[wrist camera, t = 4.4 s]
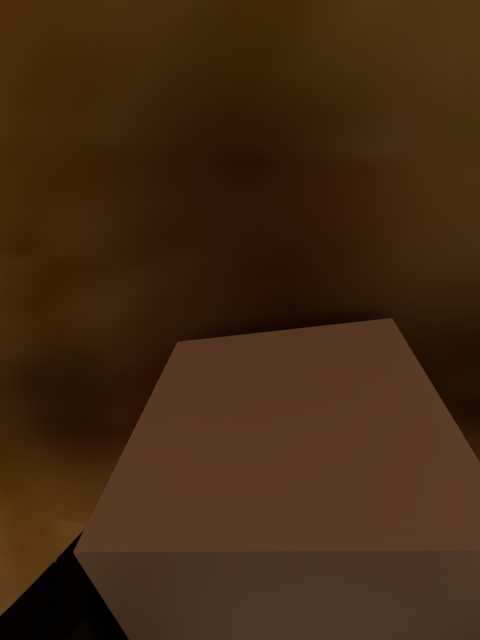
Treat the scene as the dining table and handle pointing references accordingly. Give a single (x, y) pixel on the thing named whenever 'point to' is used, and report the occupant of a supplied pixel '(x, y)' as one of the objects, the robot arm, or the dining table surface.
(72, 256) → the dining table surface
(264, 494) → the terracotta block
